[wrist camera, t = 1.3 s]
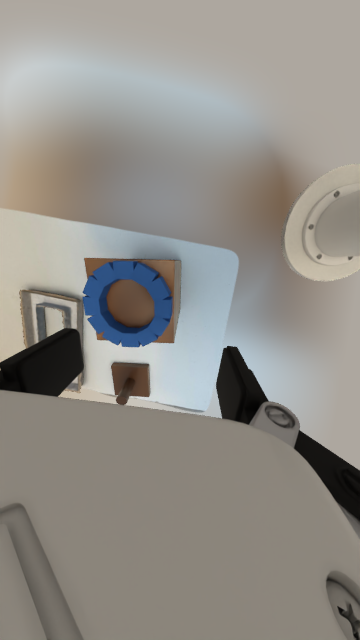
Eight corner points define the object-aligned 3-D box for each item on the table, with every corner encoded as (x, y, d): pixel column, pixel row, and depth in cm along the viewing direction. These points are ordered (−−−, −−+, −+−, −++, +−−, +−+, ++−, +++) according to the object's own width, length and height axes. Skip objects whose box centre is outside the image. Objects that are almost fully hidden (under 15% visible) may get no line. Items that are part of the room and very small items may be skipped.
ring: (172, 262, 18) (171, 262, 16) (172, 342, 21) (170, 349, 19) (85, 259, 18) (75, 259, 17) (98, 338, 21) (90, 345, 20)
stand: (181, 260, 33) (174, 260, 18) (180, 309, 36) (173, 343, 21) (131, 259, 33) (83, 257, 18) (135, 307, 37) (97, 340, 22)
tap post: (149, 364, 41) (140, 385, 34) (150, 392, 44) (142, 417, 37) (113, 362, 42) (98, 382, 35) (117, 390, 45) (103, 415, 38)
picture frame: (39, 376, 45) (29, 384, 42) (25, 284, 36) (12, 286, 33) (88, 385, 45) (81, 393, 42) (86, 295, 36) (77, 298, 33)
